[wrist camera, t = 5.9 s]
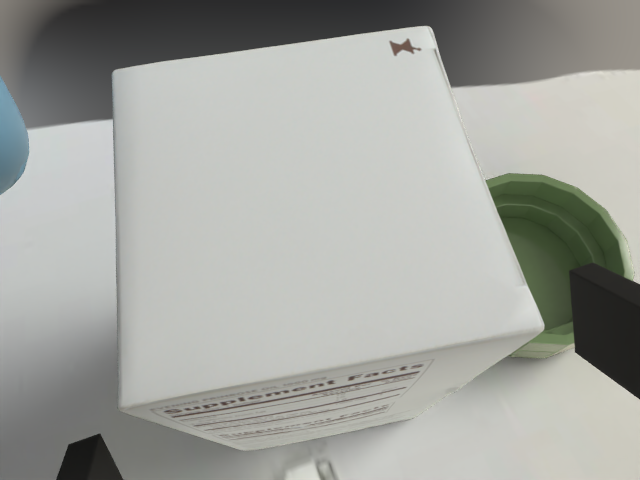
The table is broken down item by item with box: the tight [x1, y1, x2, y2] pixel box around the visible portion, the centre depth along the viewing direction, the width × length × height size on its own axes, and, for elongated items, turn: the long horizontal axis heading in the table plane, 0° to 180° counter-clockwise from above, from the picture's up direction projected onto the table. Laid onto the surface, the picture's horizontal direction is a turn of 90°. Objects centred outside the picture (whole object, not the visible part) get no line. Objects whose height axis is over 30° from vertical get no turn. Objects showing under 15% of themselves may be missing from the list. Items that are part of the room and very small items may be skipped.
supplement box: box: [112, 26, 545, 451], centre depth 20 cm, size 10×9×17 cm
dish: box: [486, 173, 634, 358], centre depth 27 cm, size 9×9×4 cm
